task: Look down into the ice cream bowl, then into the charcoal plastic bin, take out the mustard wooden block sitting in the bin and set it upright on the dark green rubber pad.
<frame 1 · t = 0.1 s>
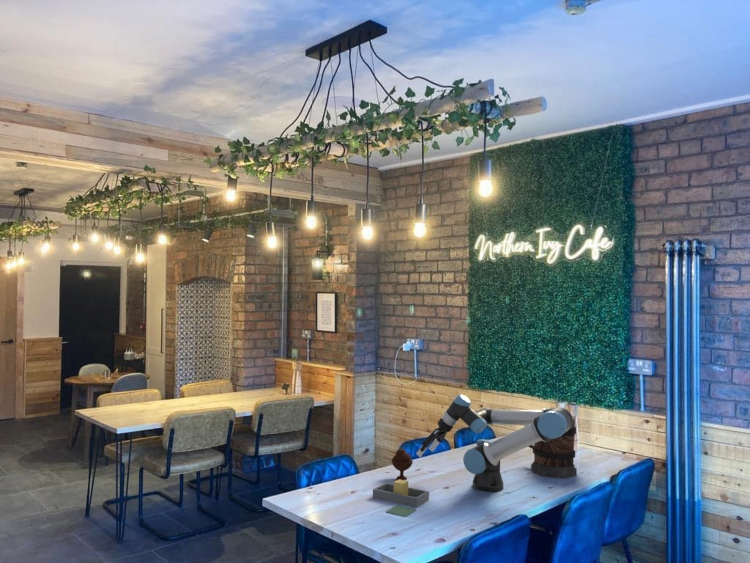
hand: (424, 452, 313), 15 cm above the table, tool tilted 35°, fingers open, 13 cm apart
ice cream bowl: (401, 479, 319), on the table
charcoal bin: (400, 500, 285), on the table
green pad: (401, 512, 269), on the table
mustard block: (400, 499, 285), resting on charcoal bin
wooden beer tankard: (548, 471, 341), on the table
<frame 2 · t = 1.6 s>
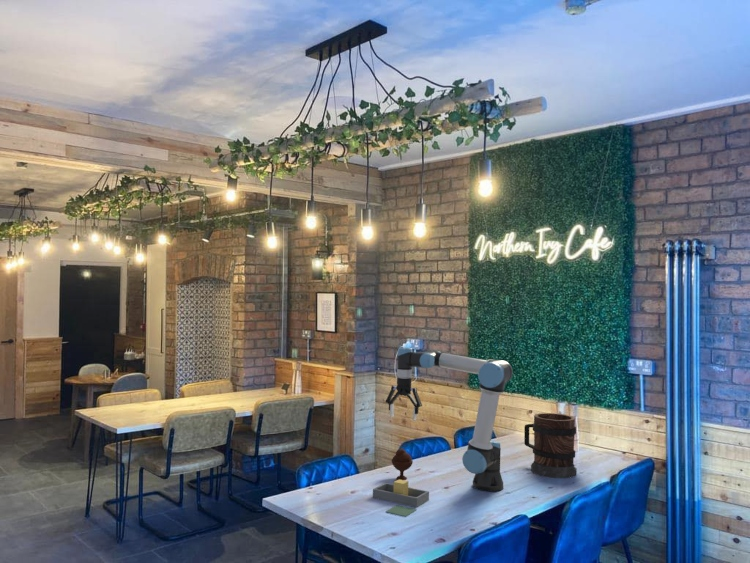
hand: (403, 418, 320), 31 cm above the table, tool pointing down, fingers open, 13 cm apart
nothing on the table moved.
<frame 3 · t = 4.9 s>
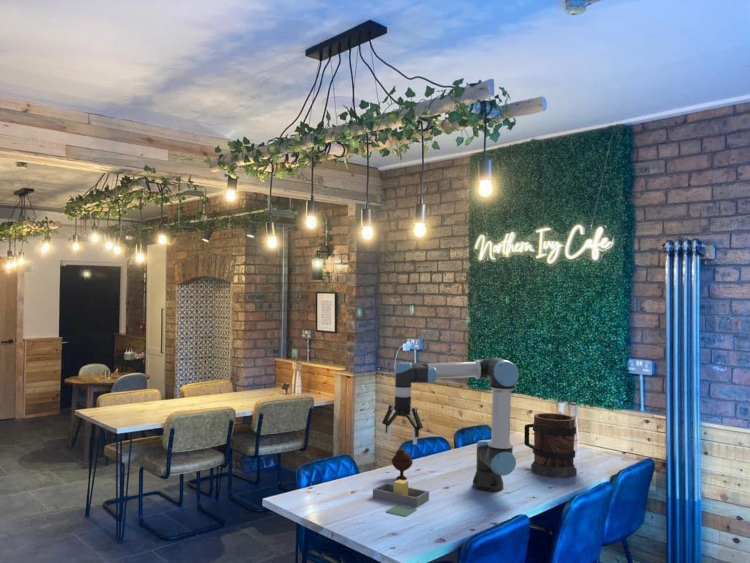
hand: (401, 442, 286), 27 cm above the table, tool pointing down, fingers open, 13 cm apart
nothing on the table moved.
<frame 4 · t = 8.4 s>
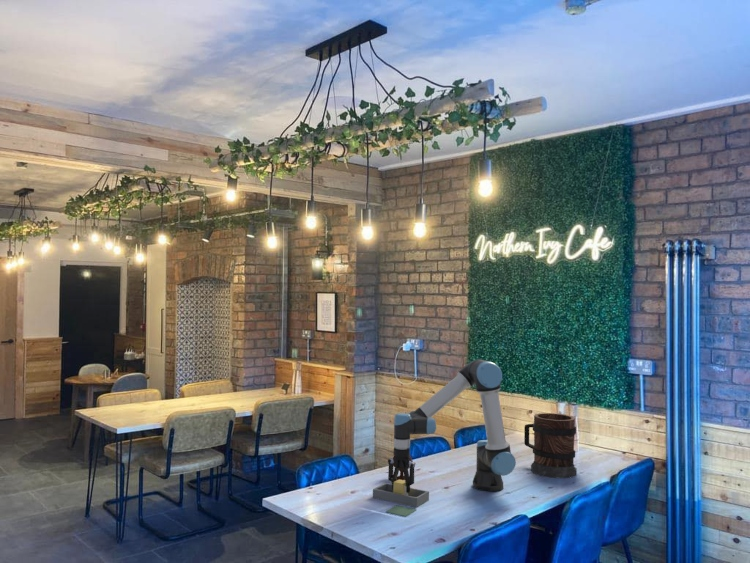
hand: (400, 498, 285), 1 cm above the table, tool pointing down, fingers closed on mustard block, 5 cm apart
mustard block: (400, 499, 285), point 1 cm above the table, touching charcoal bin, gripper
everything else where it was.
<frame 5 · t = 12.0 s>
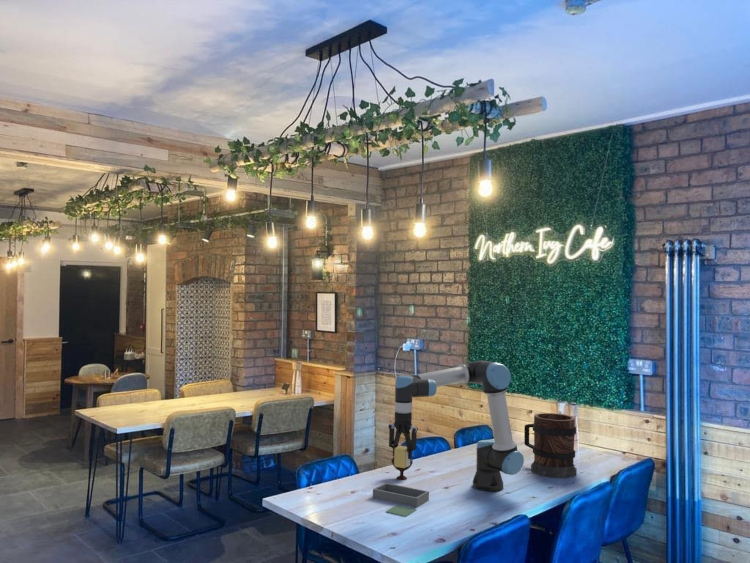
hand: (402, 465, 270), 20 cm above the table, tool pointing down, fingers closed on mustard block, 5 cm apart
mustard block: (402, 466, 270), point 20 cm above the table, touching gripper
everything else where it was.
when the fingers open (3 cm above the table, at t = 15.8 s): mustard block drops 2 cm, resting on green pad.
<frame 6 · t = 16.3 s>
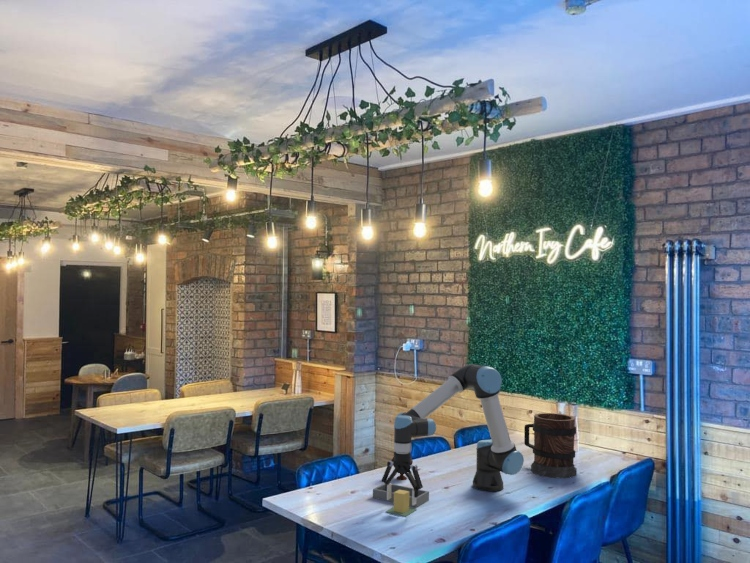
hand: (401, 501, 269), 5 cm above the table, tool pointing down, fingers open, 12 cm apart
mustard block: (401, 510, 269), point 1 cm above the table, touching green pad
everything else where it was.
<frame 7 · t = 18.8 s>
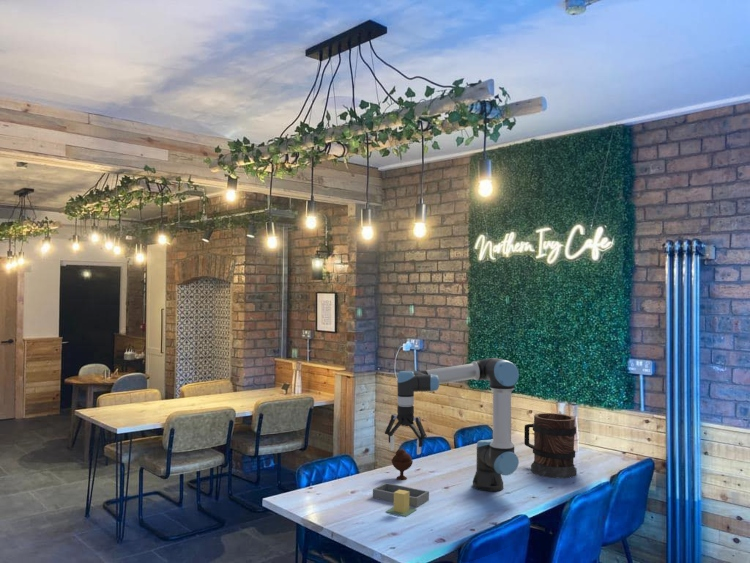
hand: (405, 451, 282), 23 cm above the table, tool pointing down, fingers open, 13 cm apart
nothing on the table moved.
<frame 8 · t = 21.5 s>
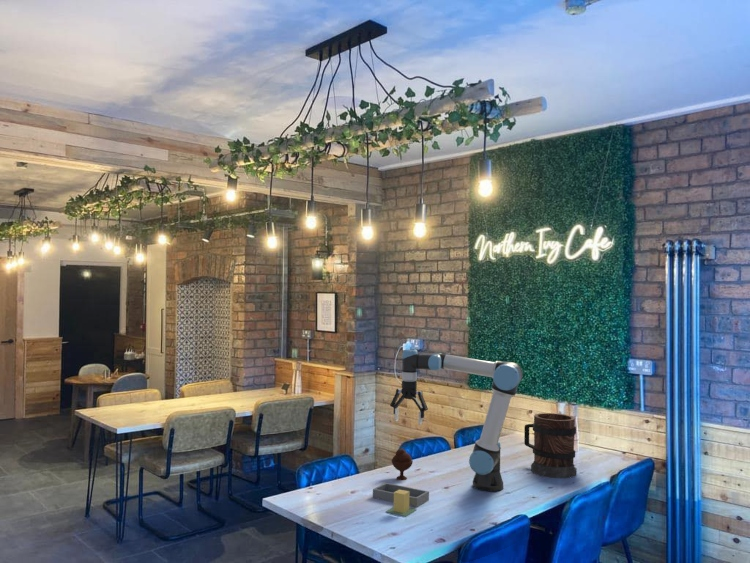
hand: (408, 422, 310), 31 cm above the table, tool pointing down, fingers open, 13 cm apart
nothing on the table moved.
at the end: mustard block inside the target area on the green pad (0.1 cm from its centre), point 0.8 cm above the green pad's base; mustard block tilted 0°; mustard block touching green pad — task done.
